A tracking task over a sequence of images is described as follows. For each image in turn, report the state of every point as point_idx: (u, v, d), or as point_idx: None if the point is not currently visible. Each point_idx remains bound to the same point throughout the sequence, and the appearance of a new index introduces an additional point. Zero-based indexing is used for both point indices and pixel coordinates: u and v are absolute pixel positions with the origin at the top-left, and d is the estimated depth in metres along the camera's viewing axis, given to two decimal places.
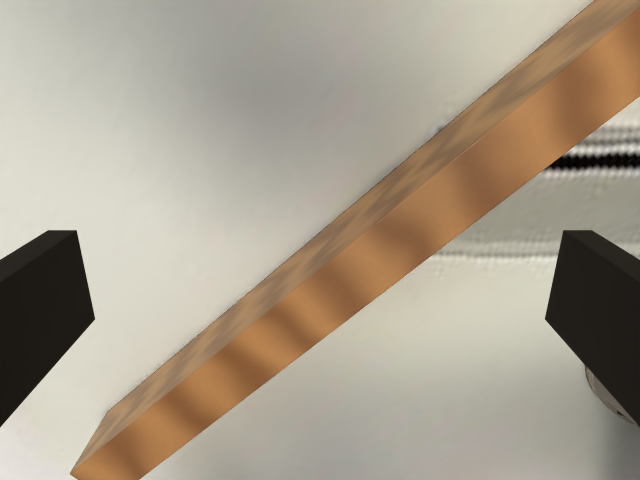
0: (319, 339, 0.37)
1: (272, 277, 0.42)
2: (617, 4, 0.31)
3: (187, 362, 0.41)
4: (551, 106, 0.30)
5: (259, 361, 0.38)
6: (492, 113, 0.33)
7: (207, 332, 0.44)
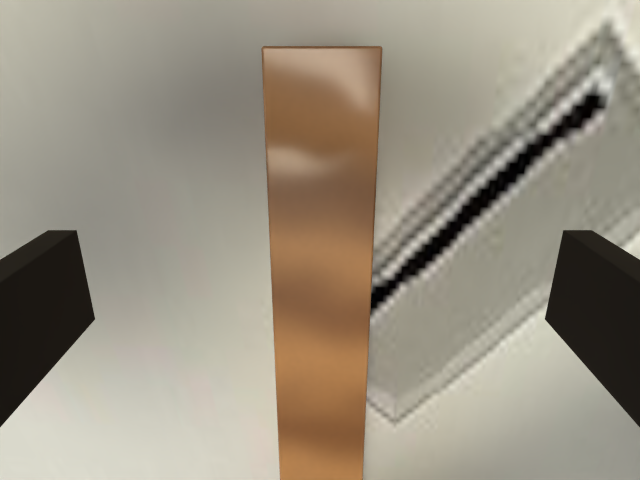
0: None
1: None
2: None
3: None
4: (302, 331, 0.23)
5: None
6: None
7: None
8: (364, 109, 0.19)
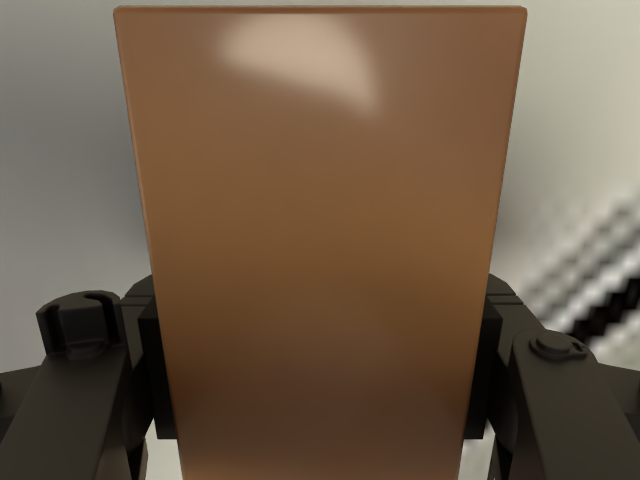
0: None
1: None
2: None
3: None
4: None
5: None
6: None
7: None
8: (453, 209, 0.06)
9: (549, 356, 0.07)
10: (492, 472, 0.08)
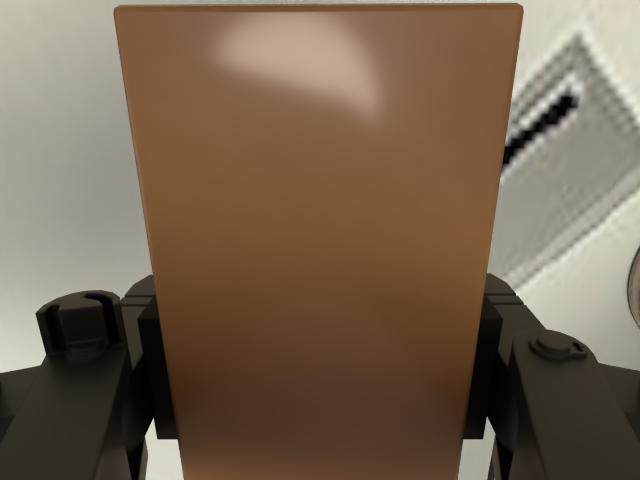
0: None
1: None
2: None
3: None
4: None
5: None
6: None
7: None
8: (451, 206, 0.06)
9: (549, 357, 0.07)
10: (492, 472, 0.08)
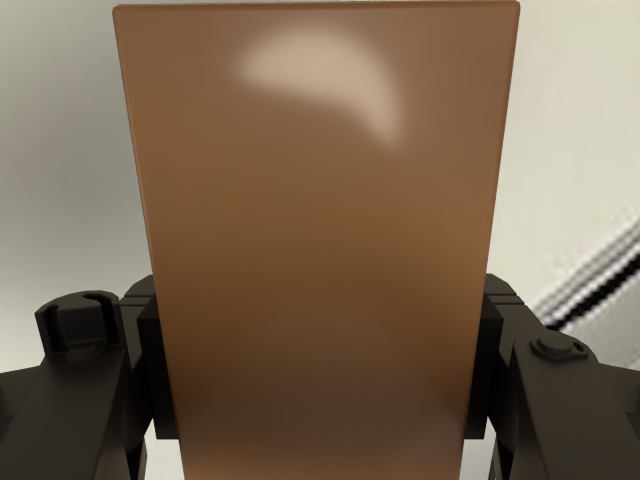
0: None
1: None
2: None
3: None
4: None
5: None
6: None
7: None
8: (449, 202, 0.06)
9: (551, 356, 0.07)
10: (493, 472, 0.08)
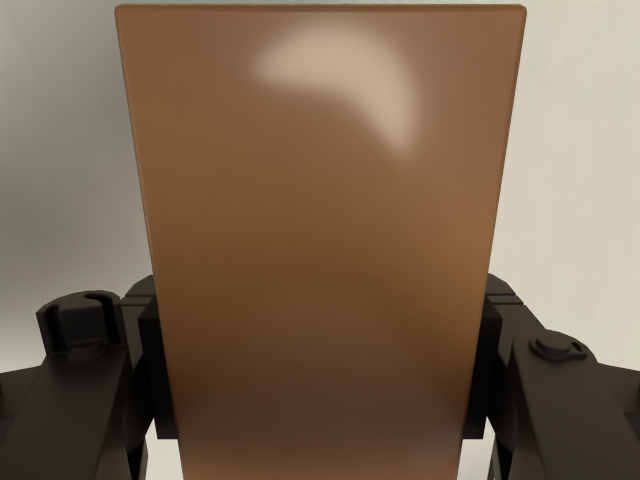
0: None
1: None
2: None
3: None
4: None
5: None
6: None
7: None
8: (453, 207, 0.06)
9: (549, 357, 0.07)
10: (492, 472, 0.08)
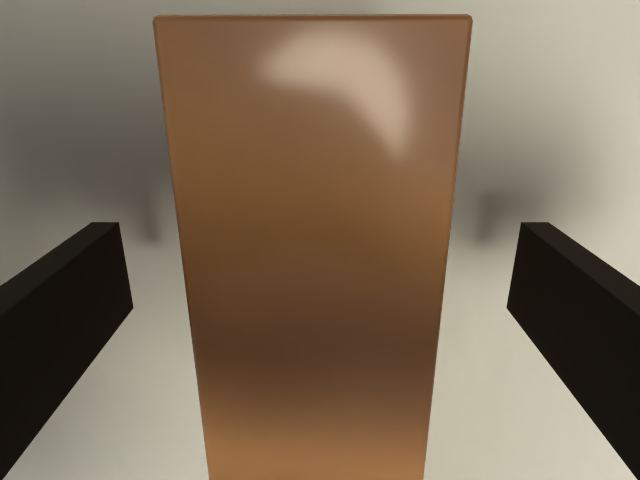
0: None
1: None
2: None
3: None
4: None
5: None
6: None
7: None
8: (419, 175, 0.08)
9: None
10: None
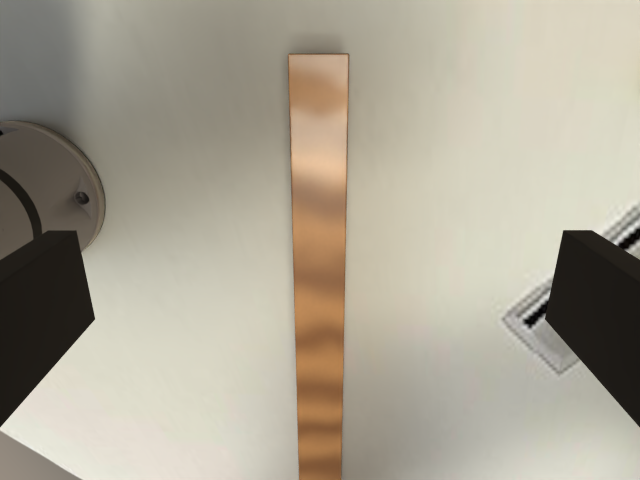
0: (340, 421, 0.49)
1: None
2: None
3: None
4: (308, 213, 0.40)
5: (324, 457, 0.51)
6: None
7: None
8: (340, 86, 0.37)
9: None
10: None
